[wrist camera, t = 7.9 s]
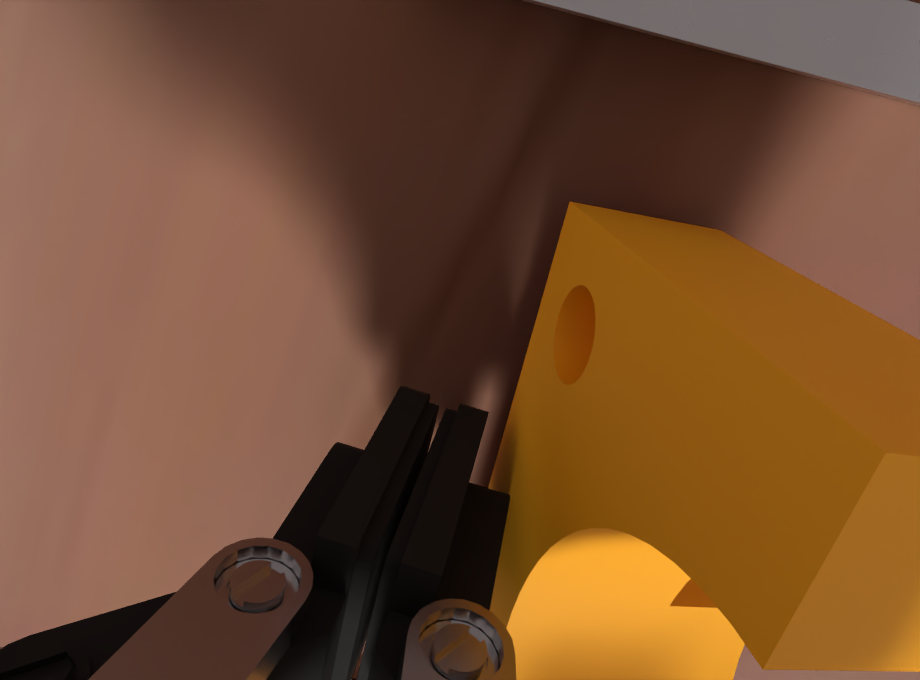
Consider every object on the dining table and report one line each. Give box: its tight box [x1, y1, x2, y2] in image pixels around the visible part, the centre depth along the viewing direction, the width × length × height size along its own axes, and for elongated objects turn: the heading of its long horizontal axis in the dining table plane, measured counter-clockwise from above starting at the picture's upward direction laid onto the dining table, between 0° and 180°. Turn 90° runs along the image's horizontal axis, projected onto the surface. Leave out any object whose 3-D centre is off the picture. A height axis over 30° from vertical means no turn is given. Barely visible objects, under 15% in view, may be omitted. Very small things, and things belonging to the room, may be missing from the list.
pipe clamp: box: [488, 202, 920, 680], centre depth 10 cm, size 12×4×6 cm, turn 168°
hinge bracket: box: [351, 0, 920, 680], centre depth 12 cm, size 18×21×2 cm
